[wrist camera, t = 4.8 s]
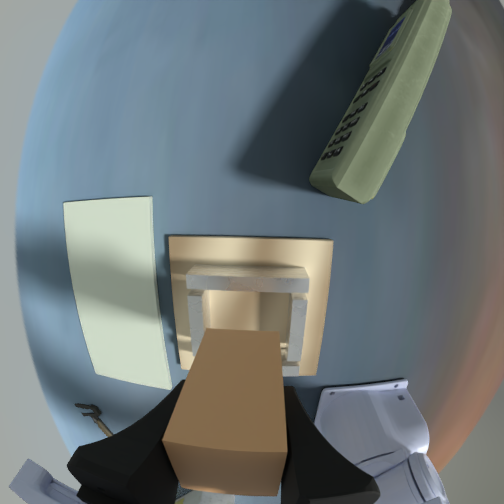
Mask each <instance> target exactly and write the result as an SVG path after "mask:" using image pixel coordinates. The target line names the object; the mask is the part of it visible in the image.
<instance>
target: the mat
mask: <svg viewBox="0 0 504 504" xmlns="http://www.w3.org/2000/svg"><path fill="white" fill-rule="evenodd" d="M63 204H64V222H65V234H66V244H67V252H68V260H69V267H70V273H71V279H72V285H73V290H74V295H75V300H76V305H77V309H78V314H79V318H80V322H81V326H82V330H83V333H84V337H85V341H86V344H87V347H88V351H89V354H90V357H91V360H92V363H93V366H94V369H95V372H96V374H99V375H103V376H107V377H111V378H115V379H119V380H123V381H127V382H132V383H136V384H141V385H146V386H151V387H157V388H162V389H168V390H171V388H172V382H171V377H170V371H169V366H168V360H167V354H166V348H165V342H164V335H163V329H162V321H161V314H160V306H159V297H158V287H157V277H156V265H155V251H154V234H153V205H152V197H130V198H113V199H99V200H86V201H75V202H65V203H63Z"/></svg>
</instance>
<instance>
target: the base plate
mask: <svg viewBox="0 0 504 504" xmlns="http://www.w3.org/2000/svg"><path fill="white" fill-rule="evenodd" d="M332 252H333V240H331V239H305V238H273V237H234V236H180V235H171V236H169V254H170V270H171V283H172V295H173V306H174V315H175V324H176V333H177V341H178V348H179V356H180V362H181V369H186V370H190V368H191V365H192V363H193V361H194V358H195V356H193V353H192V344H191V334H190V323H189V312H188V299H187V295H188V294H189V292H190V291H191V290H192V289H187V284H186V274H187V273H188V272H189V270H190V269H191V268H192V267H193V266H194V265H195V264H211V265H241V266H275V267H305V269H306V272H307V274H308V276H309V278H310V281H309V292H308V293H305V294H306V296H307V299H308V303H307V313H306V322H305V331H304V339H303V347H302V355H301V361H299V364H300V369H299V376H303V375H316V371H317V366H318V360H319V354H320V348H321V342H322V336H323V329H324V322H325V315H326V307H327V300H328V291H329V282H330V273H331V263H332ZM209 297H210V319H211V328H215V329H231V330H253V331H279V334H280V347H281V348H286V346H285V341H286V329H287V317H288V303H289V293H279V292H245V291H221V290H209Z"/></svg>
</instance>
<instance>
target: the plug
mask: <svg viewBox="0 0 504 504" xmlns="http://www.w3.org/2000/svg"><path fill="white" fill-rule="evenodd" d="M162 441H163V444H164V446H165V449H166V452H167V454H168V457H169V459H170V462H171V464H172V466H173V469H174V471H175V474H176V476H177V478H178V480H179V483H180V485H181V487H182V488H187V489H192V490H198V491H205V492H212V493H221V494H231V495H246V496H277V494H278V490H279V486H280V482H281V478H282V474H283V470H284V465H285V461H286V456H287V434H286V417H285V402H284V387H283V373H282V360H281V347H280V334H279V331H253V330H231V329H215V328H206V331H205V333H204V336H203V338H202V341H201V343H200V346H199V348H198V351H197V353H196V356H195V358H194V361H193V363H192V365H191V368H190V370H189V373H188V376H187V378H186V381H185V383H184V386H183V388H182V391H181V393H180V396H179V398H178V401H177V403H176V406H175V408H174V411H173V413H172V416H171V419H170V421H169V424H168V426H167V429H166V431H165V434H164V437H163V439H162Z"/></svg>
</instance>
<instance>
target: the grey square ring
mask: <svg viewBox="0 0 504 504" xmlns="http://www.w3.org/2000/svg"><path fill="white" fill-rule="evenodd" d="M309 281H310V278H309V276H308V274H307V272H306V269H305V267H275V266H241V265H211V264H195V265H194V266H193V267H192V268H191V269H190V270H189V272H188V273H187V274H186V284H187V289H192V290H191V291H190V292H189V294H188V295H187V299H188V312H189V323H190V334H191V344H192V353H193V356H196V353H197V351H198V348H199V346H200V343H201V341H202V338H203V336H204V333H205V331H206V328H211V319H210V297H209V290H221V291H245V292H279V293H289V303H288V317H287V329H286V341H285V346H286V348H281V360H282V373H283V376H299V369H300V364H299V361H301V355H302V347H303V339H304V331H305V322H306V313H307V303H308V299H307V296H306V294H305V293H308V292H309Z"/></svg>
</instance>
